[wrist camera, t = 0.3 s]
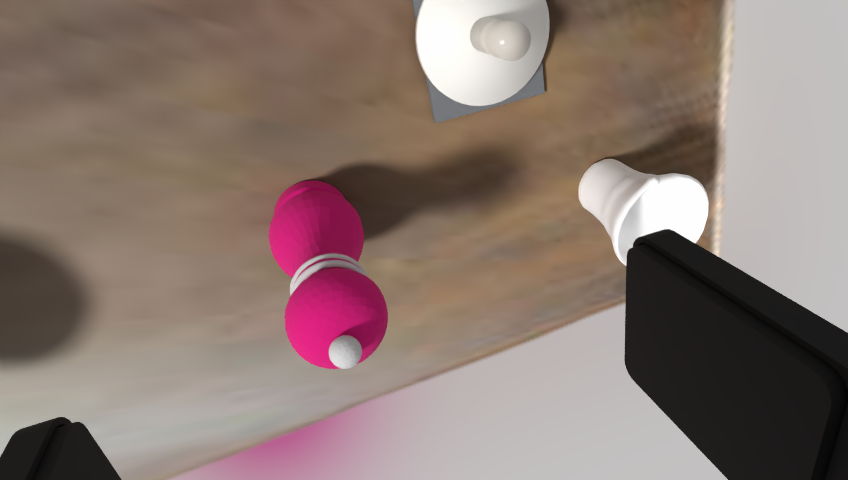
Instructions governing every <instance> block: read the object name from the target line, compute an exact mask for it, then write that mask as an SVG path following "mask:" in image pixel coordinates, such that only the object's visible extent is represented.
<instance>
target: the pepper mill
mask: <svg viewBox="0 0 848 480" xmlns="http://www.w3.org/2000/svg"><path fill="white" fill-rule="evenodd" d="M269 241H270V246H271V250H272V253H273V256H274V258H275V260H276V261H277V263H278V265H279V266H280V267H281V268H282V270H283V271H284V272H285V273H286V274H288V275H289V276H290V277H292V281H291V286H290V294H291V297H290V298H289V301H288V304H287V307H286V309H285V328H286V332H287V336H288V339H289V341H290V343H291V345H292V347H293V348H294V349H295V350H296V352H297V353H298V354H299V355H300V356H301V357H302V358H304V359H305V360H306V361H308V362H309V363H311V364H314V365H316V366H319V367H323V368H328V369H339V368H342V369H348V368H351V367H353V366H355V365H356V364H358V363H360V362H362V361H363V360H365V359H366V358H368V357H369V356H370V355H371V354H372V353H373V352H374V351H375V350H376V349H377V347H378V346H379V344H380V343H381V341H382V339H383V337H384V335H385V332H386V328H387V322H388V312H387V306H386V303H385V300H384V297H383V295H382V293H381V291H380V289H379V288H378V286H377V285H376V284H375V283H374V282H373V281H372V280H371V279H369V278H368V277H367V275H366V273H365V271H364V269H363V267H362V266H361V265H360V264H359V263H358V260H359V258H360V255H361V252H362V248H363V243H364V231H363V227H362V223H361V219H360V217H359V215H358V213H357V211H356V210H355V209H354V207H353V206H352V205H351V204H350V203H349V202H348V201H346V199H345V198H344V196H343V195H342V194H341V192H340V191H339V190H338V189H336V188H335V187H334V186H332V185H330V184H328V183H325V182H321V181H314V180H312V181H303V182H300V183H297V184H295V185H293V186H291V187H289V188H288V189H287V190H286V191H285V192H284V193H283V194H282V195H281V196H280V198H279V199H278V201H277V204H276V206H275V210H274V217H273V219H272V222H271V225H270V229H269Z"/></svg>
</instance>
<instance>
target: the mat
mask: <svg viewBox="0 0 848 480" xmlns="http://www.w3.org/2000/svg"><path fill="white" fill-rule="evenodd" d="M421 2H422V0H412V3H413V9H414V14H415V20H416V19H417V15H418V11H419V8H420V5H421ZM426 80H427V86H428V91H429V97H430V102H431V108H432V113H433V119H434V122H435V123H438V122H441V121H445V120H449V119H452V118H456V117H460V116H463V115H467V114H471V113H474V112H478V111H481V110H485V109H489V108H492V107H496V106H500V105H503V104H507V103H510V102H514V101H518V100H521V99H525V98H529V97H532V96H536V95H539V94H543V93H545V92H544V79H543V65H542V61H541V63H540V65H539V67H538V69H537V70H536V72H535V74H534V75H533V76H532V78H531V79H530V80H529V81H528V83H527V84H526V85H525V86H524V87H523V88H522V89H520V90H519V91H518V92H517V93H515V94H514V95H512V96H511V97H509V98H507V99H505V100H503V101H501V102H498V103H495V104H491V105H486V106H471V105H466V104H462V103H459V102H457V101H454V100H452V99H451V98H449V97H447V96H445V95H444V94H443V93H441V92H440V91H439V90H437V88H436V87H435V86H434V85H433V84H432V83H431V82H430V81H429V79H428V78H427V77H426Z"/></svg>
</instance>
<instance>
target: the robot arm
mask: <svg viewBox="0 0 848 480" xmlns="http://www.w3.org/2000/svg"><path fill="white" fill-rule="evenodd" d="M625 365H626V368H627V371H628V373H629V375H630V376H631V378H632V379H633V380H634V381H635V382H636V384H637V385H638V386H639V387H640V388H641V389H642V390H643V391H644V392H645V393H646V394H647V395H648V396H649V397H650V398H651V399H652V400H653V401H654V402H655V403H656V404H657V405H658V407H659V408H660V409H661V410H662V411H663V412H664V413H665V414H666V415H667V416H668V417H669V418H670V419H671V420H672V421H673V422H674V423H675V424H676V425H677V426H678V428H679V429H680V430H681V431H682V432H683V433H684V434H685V435H686V436H687V437H688V438H689V439H690V440H691V441H692V442H693V443H694V444H695V445H696V446H697V447H698V449H700V451H701V452H702V453H703V454H704V455H705V456H706V457H707V458H708V459H709V460H710V461H711V462H712V463H713V464H714V465H715V466H716V467H717V468H718V469H719V470H720V472H722V474H723V475H724V476H725V477H726V478H727V479H728V480H848V333H847V332H845V331H843V330H842V329H840V328H838V327H837V326H835V325H833V324H831V323H830V322H828V321H826V320H825V319H823V318H821V317H820V316H818V315H816V314H814V313H813V312H811V311H809V310H808V309H806V308H804V307H803V306H801V305H799V304H797V303H796V302H794V301H792V300H791V299H788V298H787V297H785V296H783V295H782V294H780V293H779V292H777V291H775V290H774V289H772V288H770V287H768V286H767V285H765V284H763V283H762V282H760V281H758V280H757V279H755V278H753V277H751V276H750V275H748V274H746V273H745V272H743V271H741V270H740V269H738V268H736V267H734V266H733V265H731V264H729V263H728V262H726V261H724V260H722V259H721V258H719V257H717V256H716V255H714V254H712V253H711V252H709V251H707V250H706V249H704V248H702V247H700V246H699V245H697V244H695V243H694V242H692V241H690V240H689V239H687V238H685V237H683V236H682V235H680V234H678V233H677V232H675V231H673V230H670V229H664V230H660V231H657V232H654V233H651V234H647V235H644V236H641V237H638V238H637V239H635V241H634V243H633V248H630V249H629V250H628V252H627V264H626V317H625ZM0 480H121V478H120V477H119V475H118V474H117V472H116V471H115V469H114V468H113V466H112V465H111V463H110V462H109V460H108V459H107V457H106V456H105V455H104V453H103V452H102V450H101V449H100V447H99V446H98V444H97V443H96V441H95V440H94V438H93V437H92V435H91V434H90V432H89V431H88V429H87V428H86V427H85V426H84V424H82V423H80V422H75V423H71V421H70V420H68V419H66V418H65V417H58V418H55V419H52V420H49V421H45V422H42V423H39V424H36V425H32V426H29V427H26V428H23V429H20V430H18V431H17V432H15V433H14V435H13V436H12V437H11V439H10V440H9V442H8V444H7V446H6V448H5V450H4V451H3V453H2V455H1V457H0Z"/></svg>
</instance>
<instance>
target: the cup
mask: <svg viewBox="0 0 848 480" xmlns="http://www.w3.org/2000/svg"><path fill="white" fill-rule="evenodd" d="M579 200H580V202H581V204H582V206H583V207H584V208H585V209H587V210H588V211H590V212H591V213H592V214H593V215H594V216H595V217H596V218H597V219H598V220H599V221H600V222H601V223H602V224H603V225H604V226H605V228H606V231H607V232H608V234H609V235H610V237H611V239H612V243H613V247H614V251H615V253H616V255H617V257H618V259H619V260H620V261H621V262H622V263H623V264H624V265H625V266H626V264H627V252H628V250H629V249H630V248H633V243H634V241H635V239H637V238H638V237H641V236H644V235H647V234H651V233H654V232H657V231H660V230H664V229H670V230H673V231H675V232H677V233H678V234H680V235H682V236H683V237H685V238H687V239H689V240H690V241H692V242H694V243H696V242H697V240H698V239H699V238H700V236H701V234H702V232H703V230H704V227H705V223H706V220H707V216H708V205H709V200H708V196H707V193H706V191H705V189H704V187H703V185H702V184H701V183H700V182H699V181H698V180H697V179H695V178H693V177H691V176H689V175H683V174H676V173H670V174H663V175H654V174H645V173H641V172H638V171H636V170H634V169H632V168H630V167H628V166H626V165H625V164H623V163H621V162H619V161H617V160H614V159H604V160H601V161H599V162H597V163H595V164H593V165H592V166H591V167H590V168H589V169H588V170H587V171H586V172H585V173H584V175H583V177H582V179H581V181H580V184H579Z"/></svg>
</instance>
